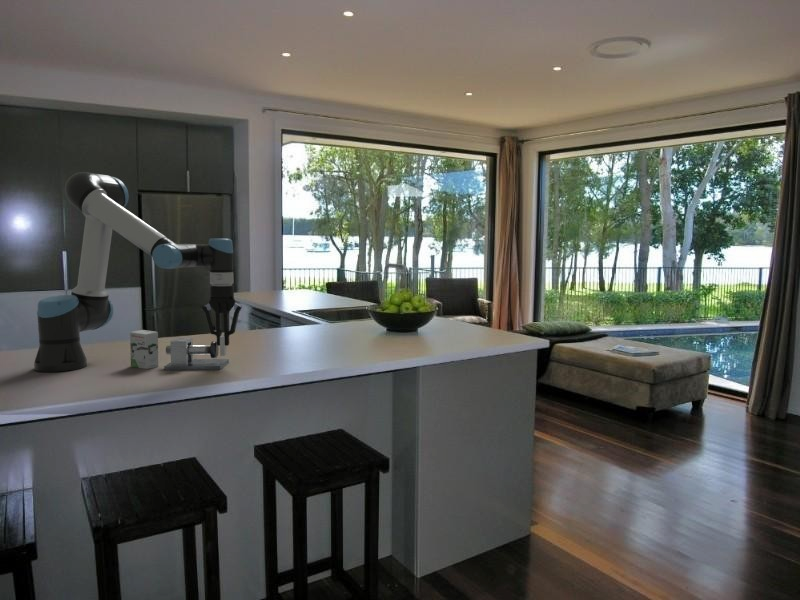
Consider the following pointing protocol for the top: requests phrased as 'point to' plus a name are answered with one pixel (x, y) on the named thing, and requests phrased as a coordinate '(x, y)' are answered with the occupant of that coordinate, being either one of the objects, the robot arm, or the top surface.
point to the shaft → (200, 349)
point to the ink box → (144, 349)
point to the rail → (200, 365)
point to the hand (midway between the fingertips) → (223, 355)
